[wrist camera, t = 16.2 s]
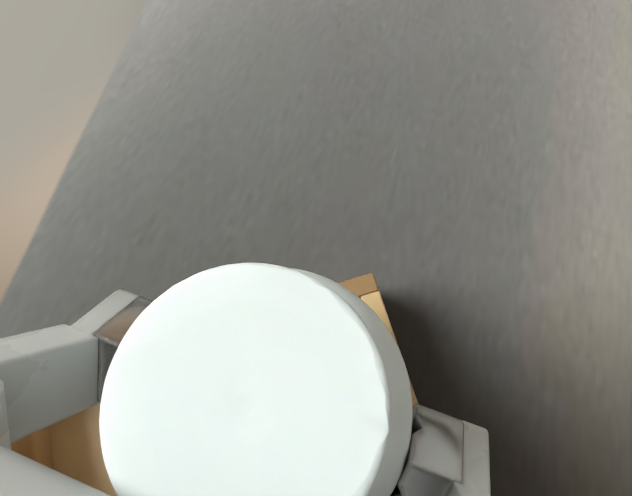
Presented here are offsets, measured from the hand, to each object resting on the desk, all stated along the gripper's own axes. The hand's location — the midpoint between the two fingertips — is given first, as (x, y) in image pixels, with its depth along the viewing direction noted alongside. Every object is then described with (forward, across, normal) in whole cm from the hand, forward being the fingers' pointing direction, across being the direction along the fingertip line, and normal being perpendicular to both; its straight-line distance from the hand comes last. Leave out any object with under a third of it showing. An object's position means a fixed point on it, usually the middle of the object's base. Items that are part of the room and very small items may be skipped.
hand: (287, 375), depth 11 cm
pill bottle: (+4, 0, +4) cm, 6 cm away
